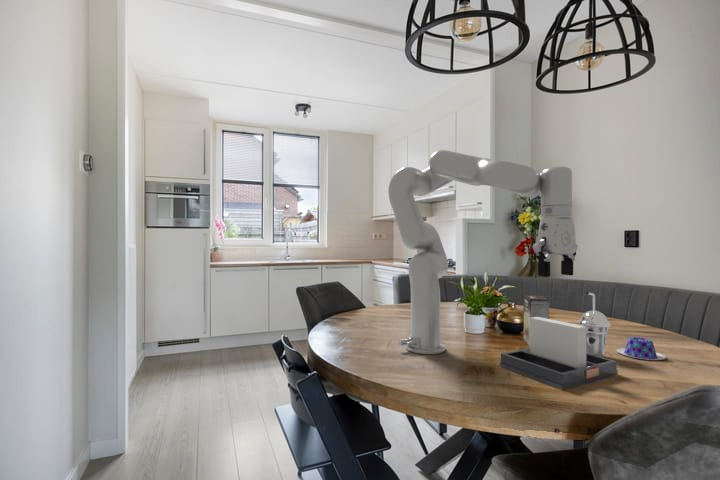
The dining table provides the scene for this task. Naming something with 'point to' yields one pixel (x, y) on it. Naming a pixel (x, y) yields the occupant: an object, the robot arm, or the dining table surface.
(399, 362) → the dining table surface
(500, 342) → the dining table surface
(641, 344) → the pudding
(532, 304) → the coffee box
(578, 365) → the panel
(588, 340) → the cup with straw
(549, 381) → the tray
